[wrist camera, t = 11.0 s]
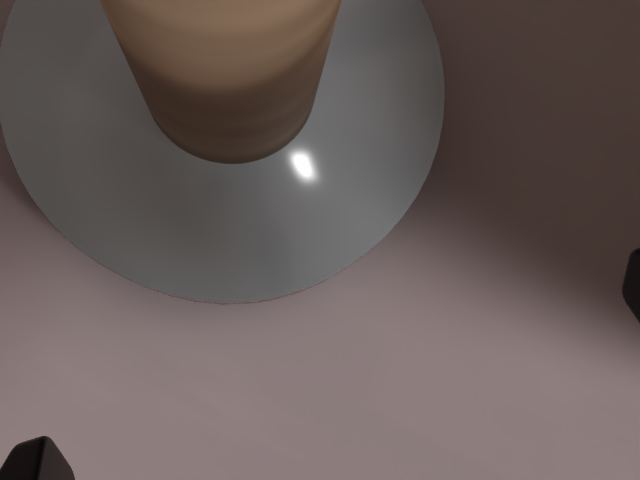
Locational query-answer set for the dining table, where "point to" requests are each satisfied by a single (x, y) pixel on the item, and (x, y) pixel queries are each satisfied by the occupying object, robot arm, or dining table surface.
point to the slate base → (216, 178)
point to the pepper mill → (226, 69)
